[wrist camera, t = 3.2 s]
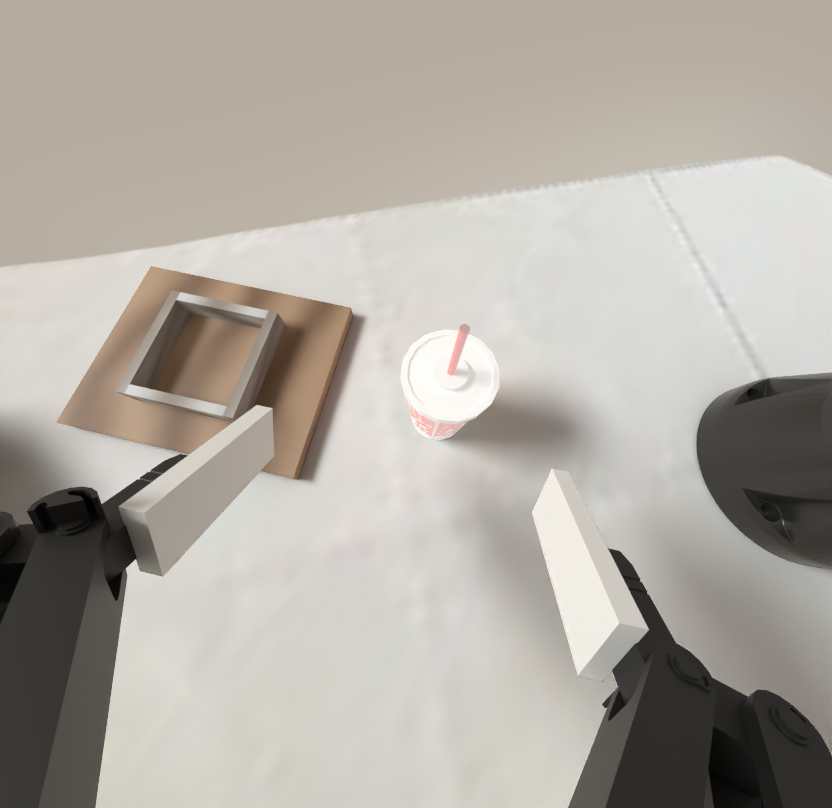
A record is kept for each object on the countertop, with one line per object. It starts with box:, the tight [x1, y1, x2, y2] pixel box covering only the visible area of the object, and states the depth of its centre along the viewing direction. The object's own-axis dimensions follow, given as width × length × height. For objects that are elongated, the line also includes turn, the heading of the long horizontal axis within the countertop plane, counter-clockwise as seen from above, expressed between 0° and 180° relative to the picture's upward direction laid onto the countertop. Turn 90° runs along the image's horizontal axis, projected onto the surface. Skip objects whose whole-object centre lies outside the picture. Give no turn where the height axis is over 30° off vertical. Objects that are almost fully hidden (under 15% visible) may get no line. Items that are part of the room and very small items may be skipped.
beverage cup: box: [401, 324, 500, 440], centre depth 21 cm, size 6×6×14 cm
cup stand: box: [57, 266, 353, 479], centre depth 27 cm, size 20×16×3 cm
